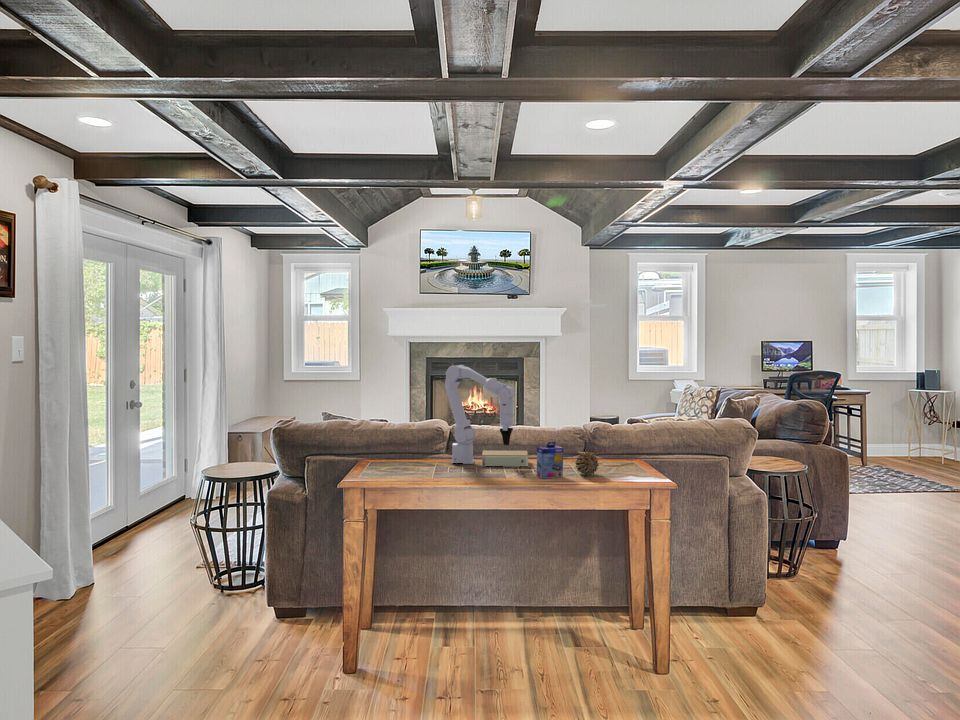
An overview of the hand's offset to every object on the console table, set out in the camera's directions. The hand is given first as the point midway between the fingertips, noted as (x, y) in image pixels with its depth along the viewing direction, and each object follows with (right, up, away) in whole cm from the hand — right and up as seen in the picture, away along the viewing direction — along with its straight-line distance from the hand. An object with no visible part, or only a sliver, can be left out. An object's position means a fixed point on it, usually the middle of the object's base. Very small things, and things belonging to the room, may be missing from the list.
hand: (506, 444), depth 291 cm
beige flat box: (0, -9, +5) cm, 10 cm away
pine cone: (+32, -10, -17) cm, 37 cm away
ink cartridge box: (+17, -10, -23) cm, 30 cm away
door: (-1, -9, -2) cm, 9 cm away
